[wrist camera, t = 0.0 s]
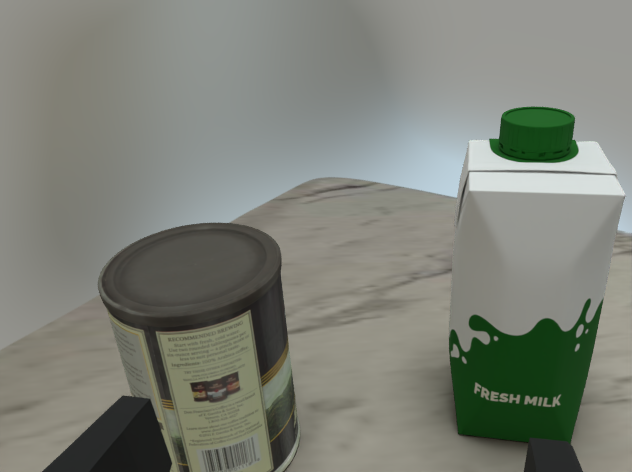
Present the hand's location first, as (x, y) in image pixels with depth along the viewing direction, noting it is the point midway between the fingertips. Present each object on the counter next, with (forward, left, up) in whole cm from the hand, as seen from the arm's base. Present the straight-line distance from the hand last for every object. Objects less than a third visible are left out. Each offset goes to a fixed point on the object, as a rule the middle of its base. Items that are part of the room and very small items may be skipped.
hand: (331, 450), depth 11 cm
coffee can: (+19, +12, -22) cm, 31 cm away
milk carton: (+25, -7, -22) cm, 34 cm away
